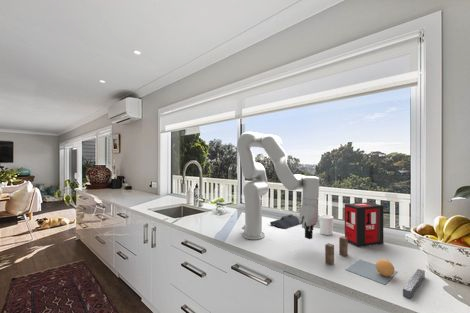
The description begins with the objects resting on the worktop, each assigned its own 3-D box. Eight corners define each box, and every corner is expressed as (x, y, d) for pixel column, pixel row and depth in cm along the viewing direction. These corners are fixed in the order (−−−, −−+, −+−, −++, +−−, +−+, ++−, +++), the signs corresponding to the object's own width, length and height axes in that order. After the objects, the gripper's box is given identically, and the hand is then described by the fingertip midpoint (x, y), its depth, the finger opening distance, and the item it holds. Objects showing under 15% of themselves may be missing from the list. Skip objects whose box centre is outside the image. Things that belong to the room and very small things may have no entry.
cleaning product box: (369, 237, 128) (369, 202, 128) (383, 243, 119) (383, 205, 119) (344, 240, 124) (344, 204, 124) (357, 247, 115) (357, 207, 115)
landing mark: (345, 269, 92) (345, 269, 92) (359, 259, 101) (359, 259, 101) (385, 284, 82) (385, 284, 82) (397, 271, 91) (397, 271, 91)
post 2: (339, 254, 107) (339, 237, 107) (341, 253, 108) (341, 236, 108) (345, 256, 105) (345, 239, 105) (347, 254, 106) (347, 237, 106)
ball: (387, 282, 85) (370, 270, 89) (392, 276, 89) (376, 265, 93) (394, 270, 83) (377, 258, 87) (399, 265, 87) (383, 254, 91)
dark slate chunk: (266, 225, 154) (266, 218, 154) (286, 219, 168) (286, 212, 168) (285, 230, 142) (285, 223, 142) (304, 223, 156) (304, 216, 156)
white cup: (316, 232, 138) (316, 215, 138) (326, 230, 141) (326, 214, 141) (325, 236, 131) (325, 218, 130) (336, 234, 133) (336, 217, 133)
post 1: (325, 263, 98) (325, 244, 98) (328, 261, 100) (328, 243, 100) (331, 265, 96) (331, 246, 96) (334, 263, 98) (334, 244, 98)
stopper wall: (403, 296, 75) (403, 288, 75) (418, 275, 88) (418, 268, 88) (410, 299, 74) (410, 291, 74) (424, 277, 87) (424, 270, 86)
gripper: (311, 198, 120) (310, 232, 121) (294, 201, 110) (293, 239, 111) (325, 201, 114) (323, 237, 115) (308, 205, 105) (306, 244, 105)
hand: (308, 238), depth 113 cm, fingers closed
